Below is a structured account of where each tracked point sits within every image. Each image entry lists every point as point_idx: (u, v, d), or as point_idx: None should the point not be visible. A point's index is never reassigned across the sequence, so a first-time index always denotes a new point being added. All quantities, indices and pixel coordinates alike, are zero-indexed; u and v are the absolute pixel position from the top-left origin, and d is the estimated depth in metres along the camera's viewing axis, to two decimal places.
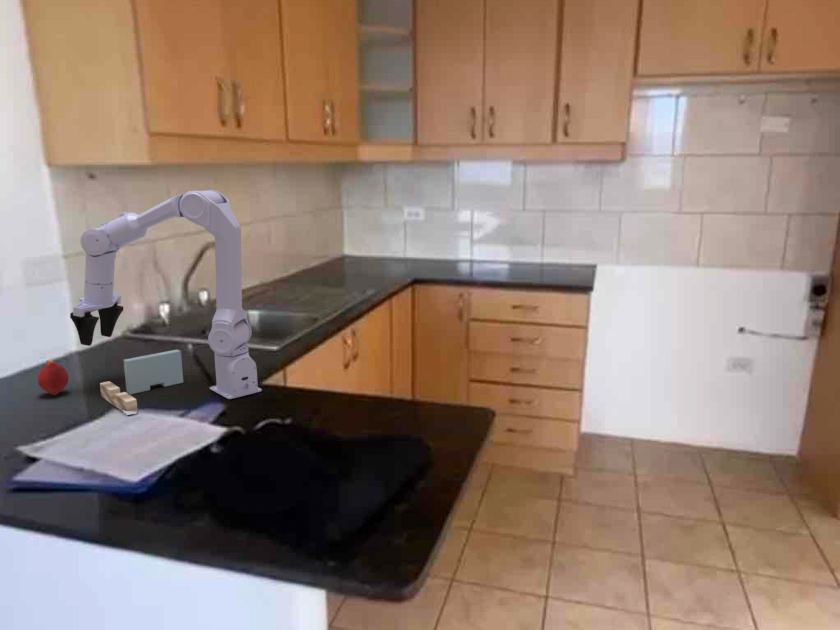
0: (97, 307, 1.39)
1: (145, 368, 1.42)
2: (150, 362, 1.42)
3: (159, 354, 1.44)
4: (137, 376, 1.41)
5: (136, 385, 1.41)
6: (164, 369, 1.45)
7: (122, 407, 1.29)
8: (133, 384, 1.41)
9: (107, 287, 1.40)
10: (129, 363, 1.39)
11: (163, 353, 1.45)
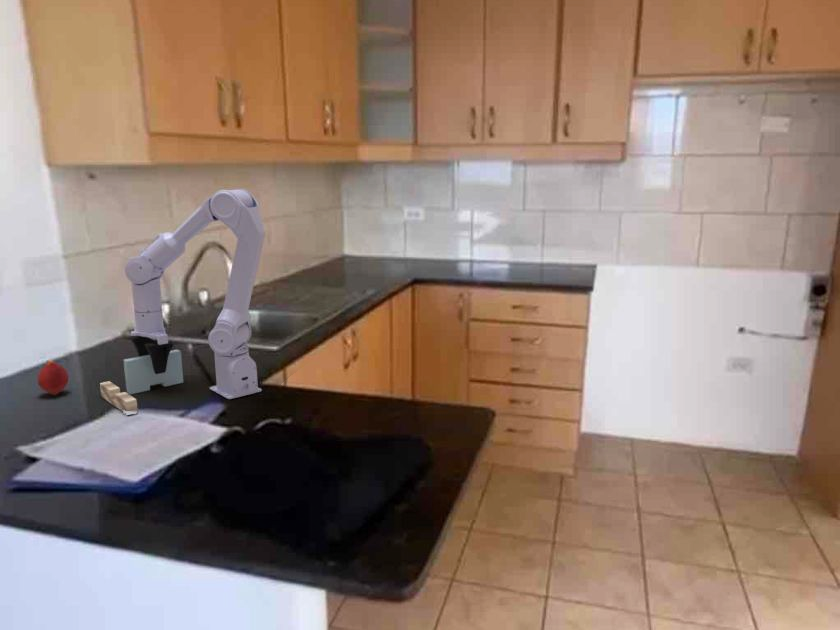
0: None
1: (145, 368, 1.42)
2: (150, 362, 1.42)
3: None
4: (137, 376, 1.41)
5: (136, 385, 1.41)
6: None
7: (122, 407, 1.29)
8: (133, 384, 1.41)
9: None
10: (129, 363, 1.39)
11: None
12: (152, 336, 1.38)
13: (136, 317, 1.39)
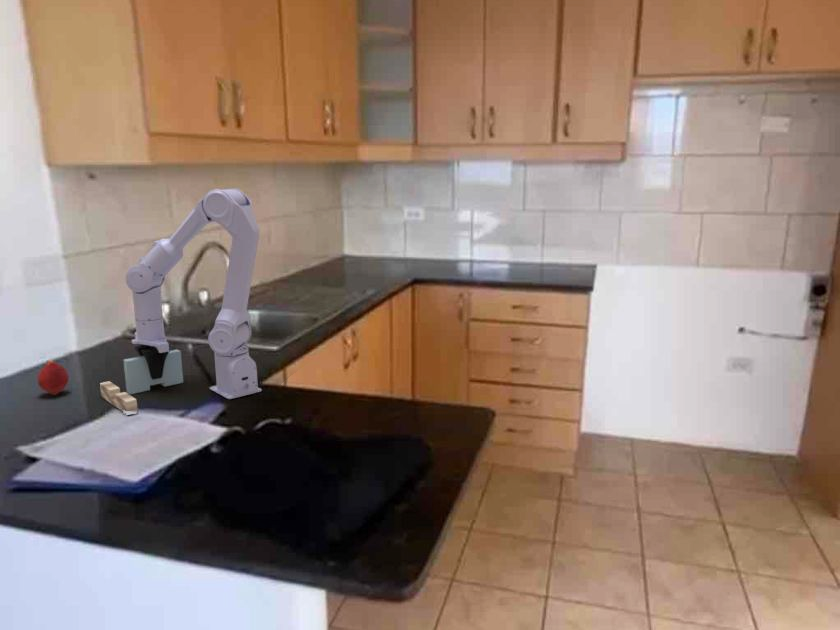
0: None
1: (145, 368, 1.42)
2: None
3: None
4: (137, 376, 1.41)
5: (136, 385, 1.41)
6: (164, 369, 1.45)
7: (122, 407, 1.29)
8: (133, 384, 1.41)
9: None
10: (129, 363, 1.39)
11: None
12: (153, 344, 1.38)
13: (137, 325, 1.40)
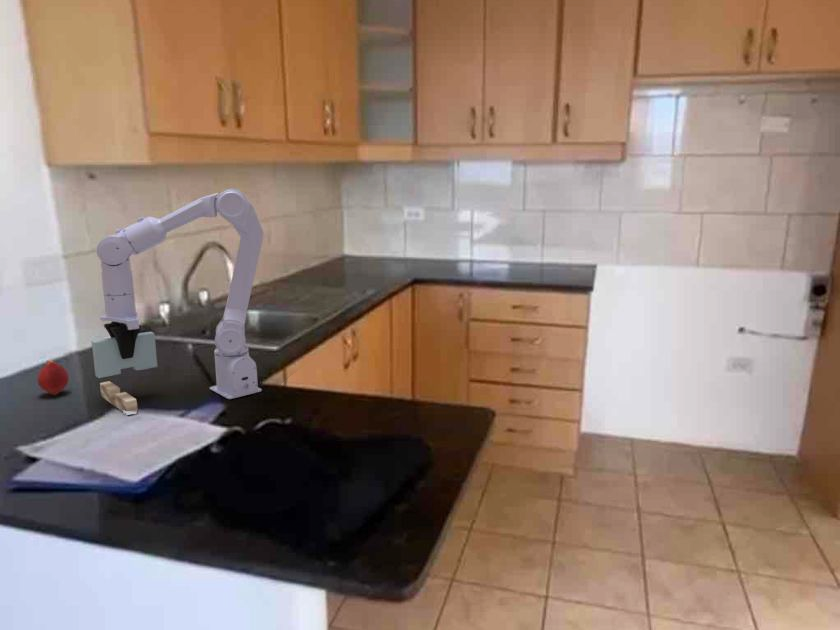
0: None
1: (115, 350, 1.33)
2: None
3: None
4: (106, 359, 1.32)
5: (105, 368, 1.32)
6: (136, 352, 1.36)
7: (122, 407, 1.29)
8: (102, 367, 1.32)
9: None
10: (97, 345, 1.30)
11: None
12: (122, 321, 1.29)
13: (105, 301, 1.31)
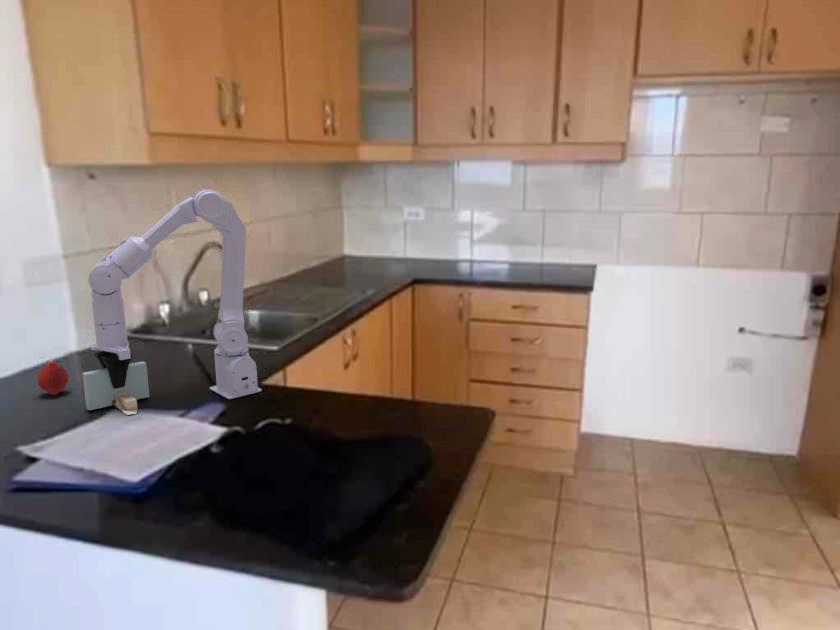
0: (128, 346, 1.30)
1: (106, 382, 1.31)
2: None
3: None
4: (97, 390, 1.30)
5: (96, 400, 1.30)
6: (128, 383, 1.34)
7: (122, 407, 1.29)
8: (93, 399, 1.30)
9: (125, 324, 1.31)
10: (88, 377, 1.28)
11: None
12: (113, 351, 1.27)
13: (96, 330, 1.28)
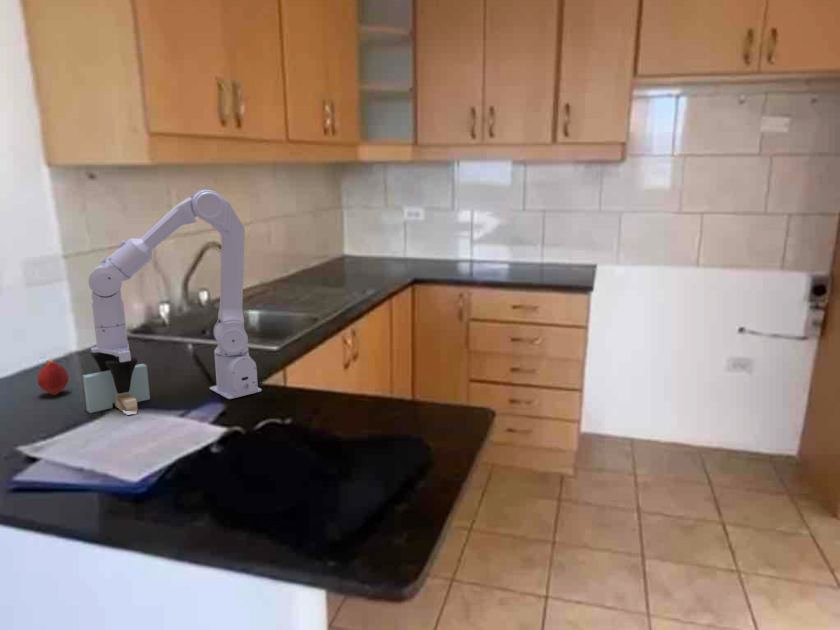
0: (128, 348, 1.30)
1: (106, 384, 1.31)
2: (112, 377, 1.31)
3: None
4: (98, 393, 1.30)
5: (97, 403, 1.30)
6: None
7: (122, 407, 1.29)
8: (94, 402, 1.30)
9: (125, 326, 1.32)
10: (89, 379, 1.28)
11: None
12: (113, 353, 1.27)
13: (96, 332, 1.29)
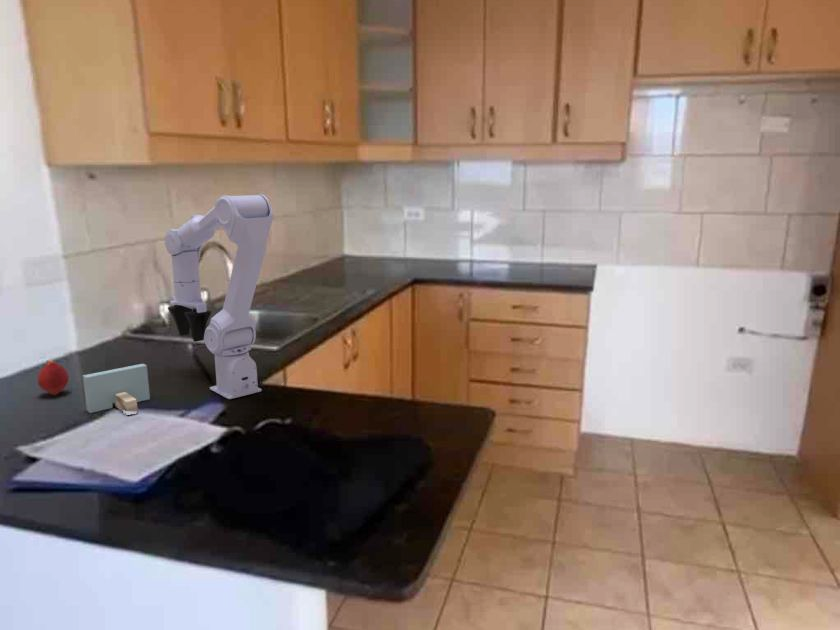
0: None
1: (106, 384, 1.31)
2: (112, 377, 1.31)
3: (123, 369, 1.33)
4: (98, 393, 1.30)
5: (97, 403, 1.30)
6: (128, 385, 1.34)
7: (122, 407, 1.29)
8: (94, 402, 1.30)
9: (199, 282, 1.49)
10: (89, 379, 1.28)
11: (127, 368, 1.34)
12: (191, 305, 1.45)
13: (175, 287, 1.46)
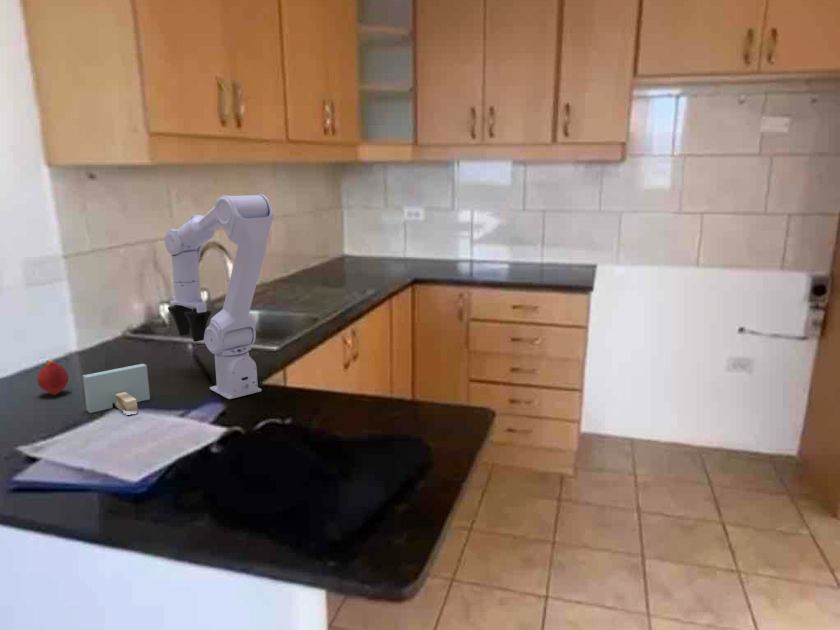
0: None
1: (106, 384, 1.31)
2: (112, 377, 1.31)
3: (123, 369, 1.33)
4: (98, 393, 1.30)
5: (97, 403, 1.30)
6: (128, 385, 1.34)
7: (122, 407, 1.29)
8: (94, 402, 1.30)
9: (199, 282, 1.49)
10: (89, 379, 1.28)
11: (127, 368, 1.34)
12: (191, 305, 1.45)
13: (175, 287, 1.46)
